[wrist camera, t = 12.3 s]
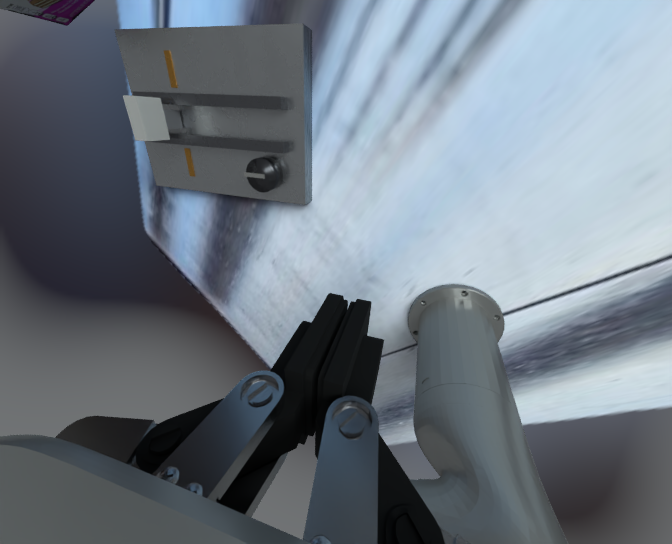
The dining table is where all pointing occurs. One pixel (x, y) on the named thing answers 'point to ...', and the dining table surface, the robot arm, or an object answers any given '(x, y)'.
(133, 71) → the console
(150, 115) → the block
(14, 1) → the candy bar box
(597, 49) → the dining table surface
